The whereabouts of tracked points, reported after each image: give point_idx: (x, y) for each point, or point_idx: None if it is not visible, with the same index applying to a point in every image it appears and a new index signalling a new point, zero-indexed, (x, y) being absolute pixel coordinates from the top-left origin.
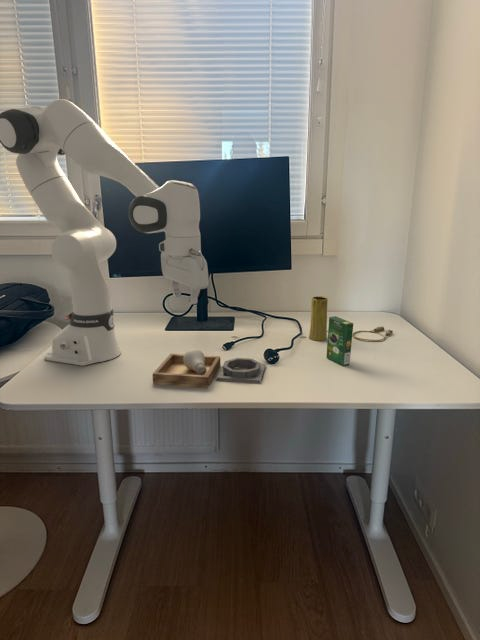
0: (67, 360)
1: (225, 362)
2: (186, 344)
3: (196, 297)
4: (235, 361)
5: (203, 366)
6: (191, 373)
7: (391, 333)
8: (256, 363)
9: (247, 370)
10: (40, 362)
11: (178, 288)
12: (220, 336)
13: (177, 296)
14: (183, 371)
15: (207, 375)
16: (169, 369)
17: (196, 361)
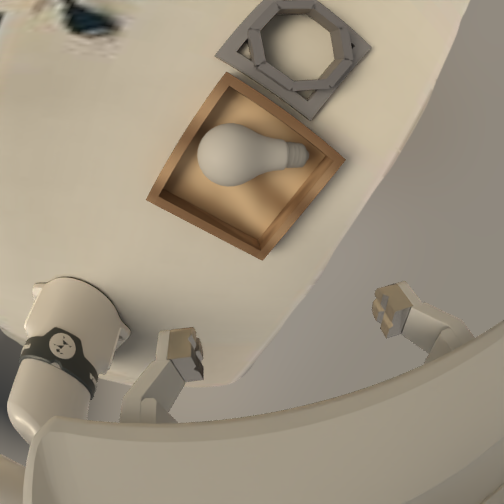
0: (116, 349)
1: (266, 72)
2: (40, 132)
3: (419, 305)
4: (261, 41)
5: (303, 153)
6: None
7: None
8: (311, 8)
9: (345, 53)
10: None
11: (169, 369)
12: (20, 41)
13: (198, 339)
14: None
15: (336, 156)
16: (204, 205)
17: (276, 164)
